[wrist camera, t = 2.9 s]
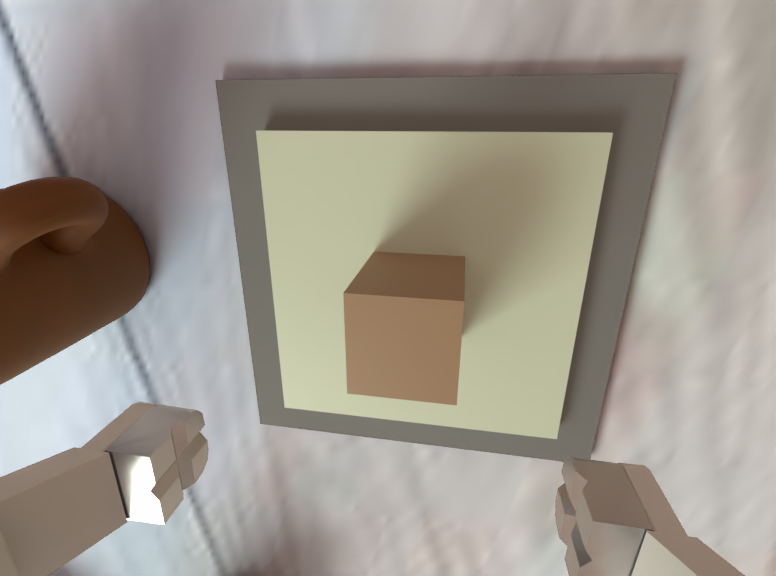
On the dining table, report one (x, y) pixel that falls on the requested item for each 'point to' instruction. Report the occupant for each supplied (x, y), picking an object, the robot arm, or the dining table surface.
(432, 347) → the lid
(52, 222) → the mug
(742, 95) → the dining table surface
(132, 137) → the dining table surface
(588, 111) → the mat
